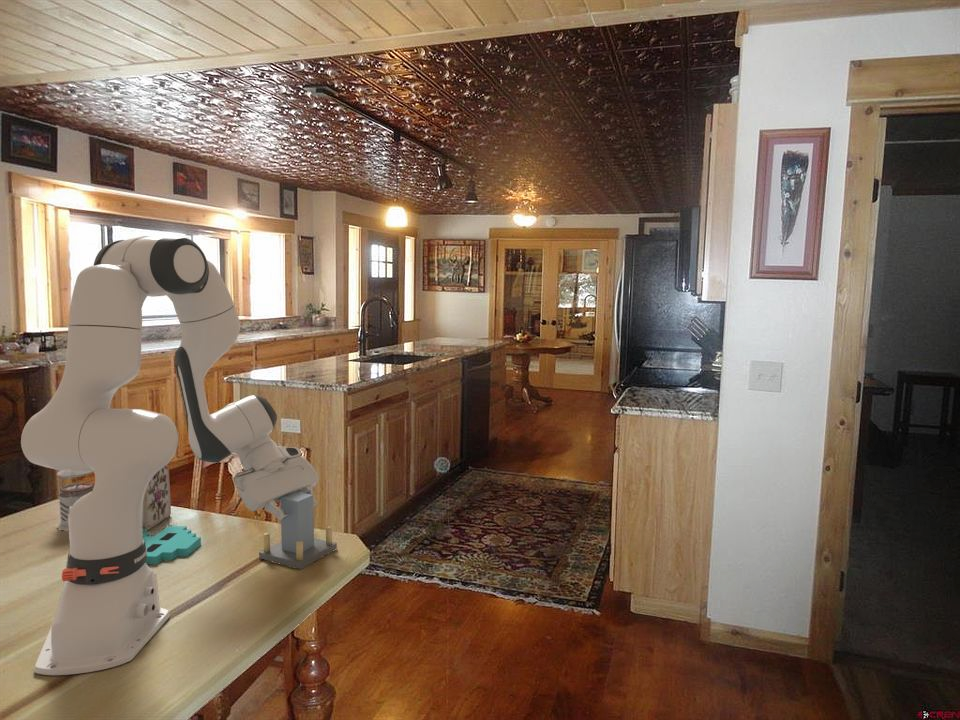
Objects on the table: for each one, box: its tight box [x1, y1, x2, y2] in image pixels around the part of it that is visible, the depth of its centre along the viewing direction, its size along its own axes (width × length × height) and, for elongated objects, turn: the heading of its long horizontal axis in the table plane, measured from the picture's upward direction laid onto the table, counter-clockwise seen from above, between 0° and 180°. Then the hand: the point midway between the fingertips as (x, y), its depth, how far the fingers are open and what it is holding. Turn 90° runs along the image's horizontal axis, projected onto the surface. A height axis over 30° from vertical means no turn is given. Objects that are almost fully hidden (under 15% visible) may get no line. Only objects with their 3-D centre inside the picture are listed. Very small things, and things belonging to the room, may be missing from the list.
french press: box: [56, 470, 94, 531], centre depth 159 cm, size 10×12×25 cm
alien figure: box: [142, 525, 202, 565], centre depth 144 cm, size 20×2×20 cm
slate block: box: [280, 492, 315, 553], centre depth 141 cm, size 5×5×12 cm
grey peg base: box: [258, 525, 338, 570], centre depth 142 cm, size 12×12×6 cm
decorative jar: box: [142, 464, 172, 532], centre depth 159 cm, size 12×12×18 cm
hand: (299, 511), depth 141 cm, fingers open, 8 cm apart
